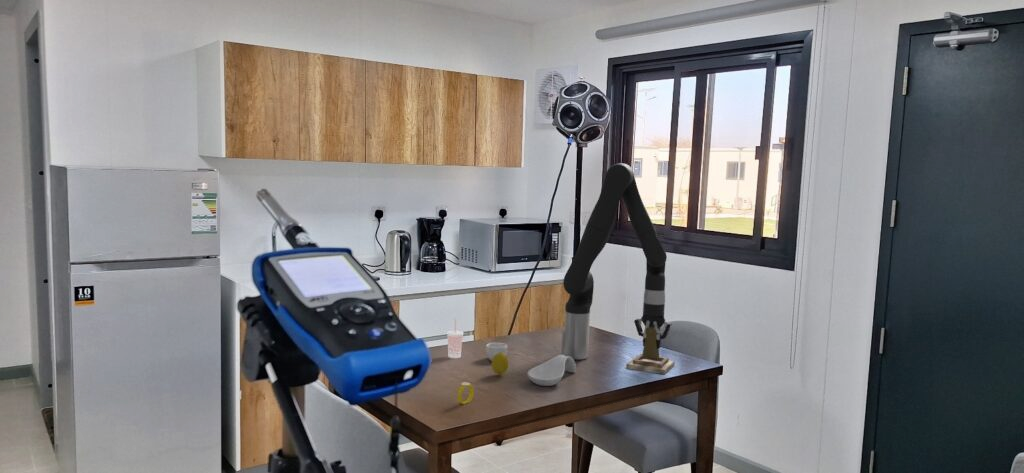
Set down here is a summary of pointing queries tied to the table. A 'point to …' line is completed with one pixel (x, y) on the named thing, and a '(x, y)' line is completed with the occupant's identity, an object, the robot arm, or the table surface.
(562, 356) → the spoon rest
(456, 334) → the beverage cup
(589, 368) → the table surface
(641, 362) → the socket board
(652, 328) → the pepper mill
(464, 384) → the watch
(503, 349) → the teacup
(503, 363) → the lemon
